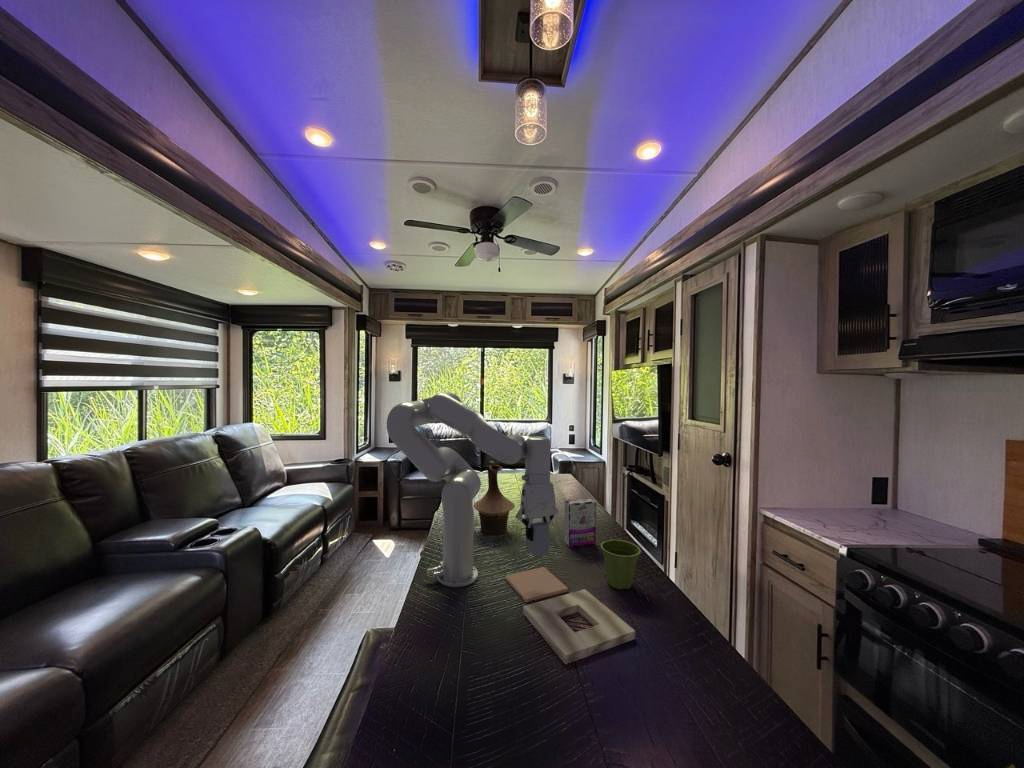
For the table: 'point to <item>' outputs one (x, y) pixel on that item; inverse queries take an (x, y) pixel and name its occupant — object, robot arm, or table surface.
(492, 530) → the brown vase
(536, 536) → the block
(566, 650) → the holder
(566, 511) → the candy bar box
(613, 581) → the plant pot
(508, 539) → the table surface
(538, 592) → the tile
